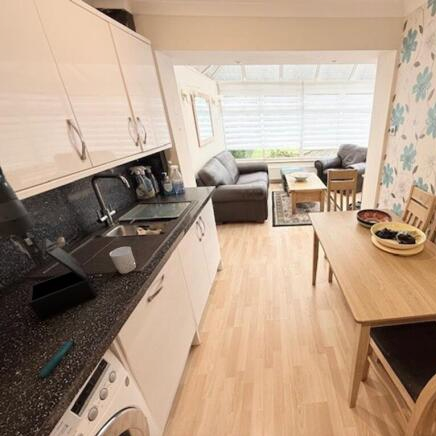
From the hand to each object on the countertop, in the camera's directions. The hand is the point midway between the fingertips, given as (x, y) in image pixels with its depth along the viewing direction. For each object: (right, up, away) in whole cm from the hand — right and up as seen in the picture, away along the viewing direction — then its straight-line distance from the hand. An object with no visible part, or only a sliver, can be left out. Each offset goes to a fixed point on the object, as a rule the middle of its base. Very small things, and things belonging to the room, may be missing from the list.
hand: (37, 262), depth 74 cm
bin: (-7, -18, +18) cm, 26 cm away
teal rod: (+11, -28, -5) cm, 30 cm away
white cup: (+5, -10, +34) cm, 36 cm away
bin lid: (-4, -1, +13) cm, 14 cm away
